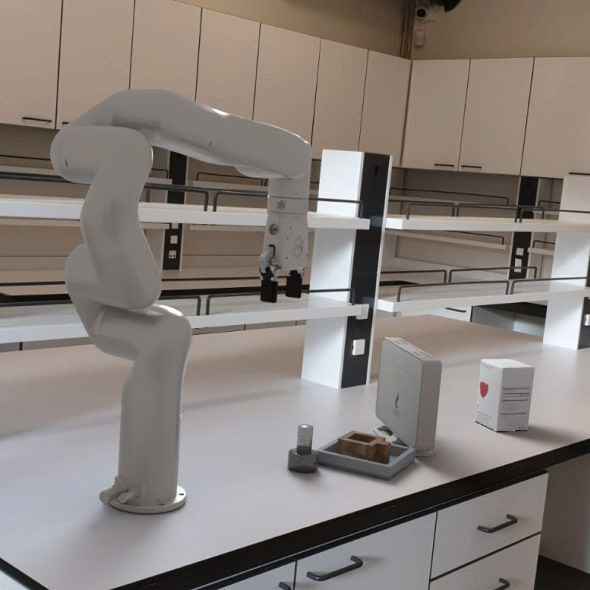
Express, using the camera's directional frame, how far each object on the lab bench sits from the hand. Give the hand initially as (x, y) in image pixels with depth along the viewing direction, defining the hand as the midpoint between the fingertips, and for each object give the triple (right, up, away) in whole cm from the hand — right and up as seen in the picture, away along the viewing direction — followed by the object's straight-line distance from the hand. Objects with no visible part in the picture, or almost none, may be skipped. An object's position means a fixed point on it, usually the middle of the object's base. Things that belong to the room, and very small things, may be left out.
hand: (281, 299), depth 161 cm
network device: (+25, -30, +20) cm, 44 cm away
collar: (+15, -30, +5) cm, 34 cm away
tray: (+16, -31, +5) cm, 35 cm away
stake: (+4, -31, -1) cm, 31 cm away
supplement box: (+50, -30, +38) cm, 69 cm away
